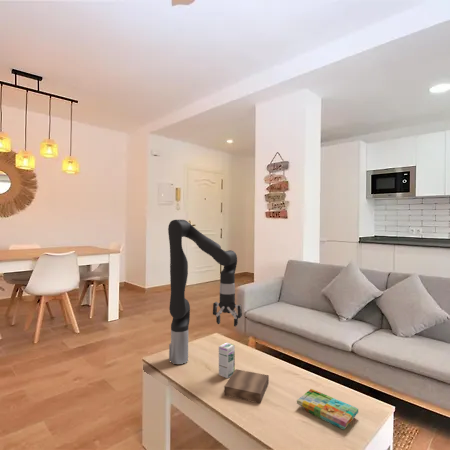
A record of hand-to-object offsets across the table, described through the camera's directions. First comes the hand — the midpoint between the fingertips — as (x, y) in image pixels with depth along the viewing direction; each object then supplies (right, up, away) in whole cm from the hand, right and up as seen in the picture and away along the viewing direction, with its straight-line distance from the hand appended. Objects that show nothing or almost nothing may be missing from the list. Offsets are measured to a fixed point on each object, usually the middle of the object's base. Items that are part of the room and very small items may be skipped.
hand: (227, 324), depth 150 cm
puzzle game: (+39, -26, -28) cm, 55 cm away
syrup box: (0, -25, +1) cm, 25 cm away
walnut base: (+9, -25, -12) cm, 29 cm away
